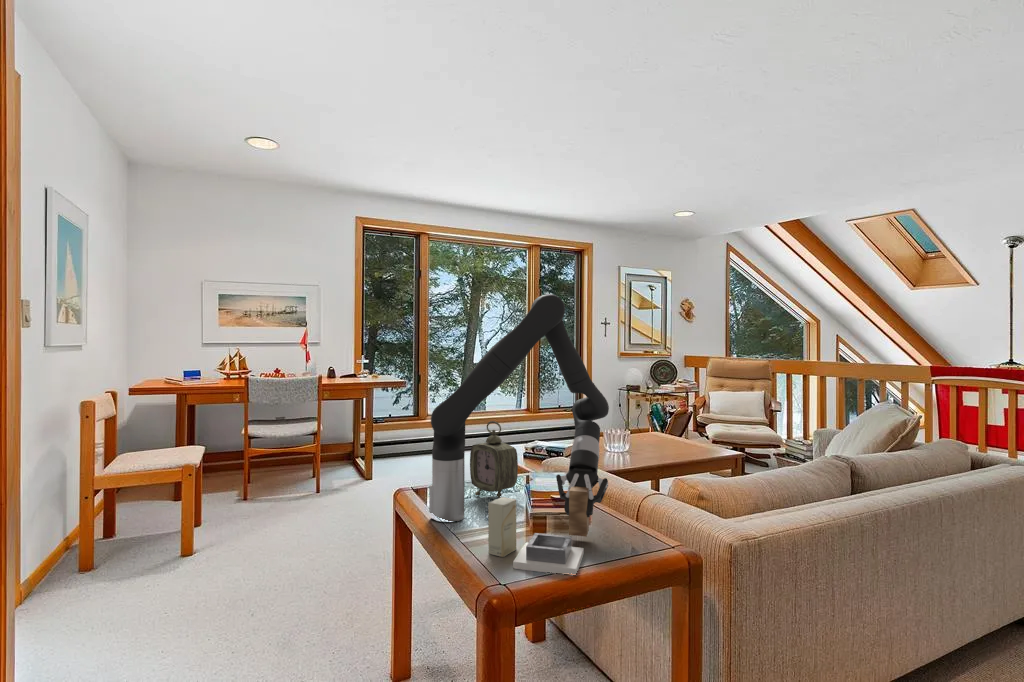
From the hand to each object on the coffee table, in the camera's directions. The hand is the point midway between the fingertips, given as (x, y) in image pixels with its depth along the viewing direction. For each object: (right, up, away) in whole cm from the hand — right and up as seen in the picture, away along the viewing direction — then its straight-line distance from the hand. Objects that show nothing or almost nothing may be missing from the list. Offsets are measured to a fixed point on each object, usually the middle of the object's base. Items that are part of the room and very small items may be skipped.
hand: (578, 514), depth 129 cm
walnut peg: (0, -5, +2) cm, 5 cm away
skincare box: (-19, -8, -5) cm, 21 cm away
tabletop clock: (-22, -8, +39) cm, 46 cm away
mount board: (-8, -7, -11) cm, 15 cm away
